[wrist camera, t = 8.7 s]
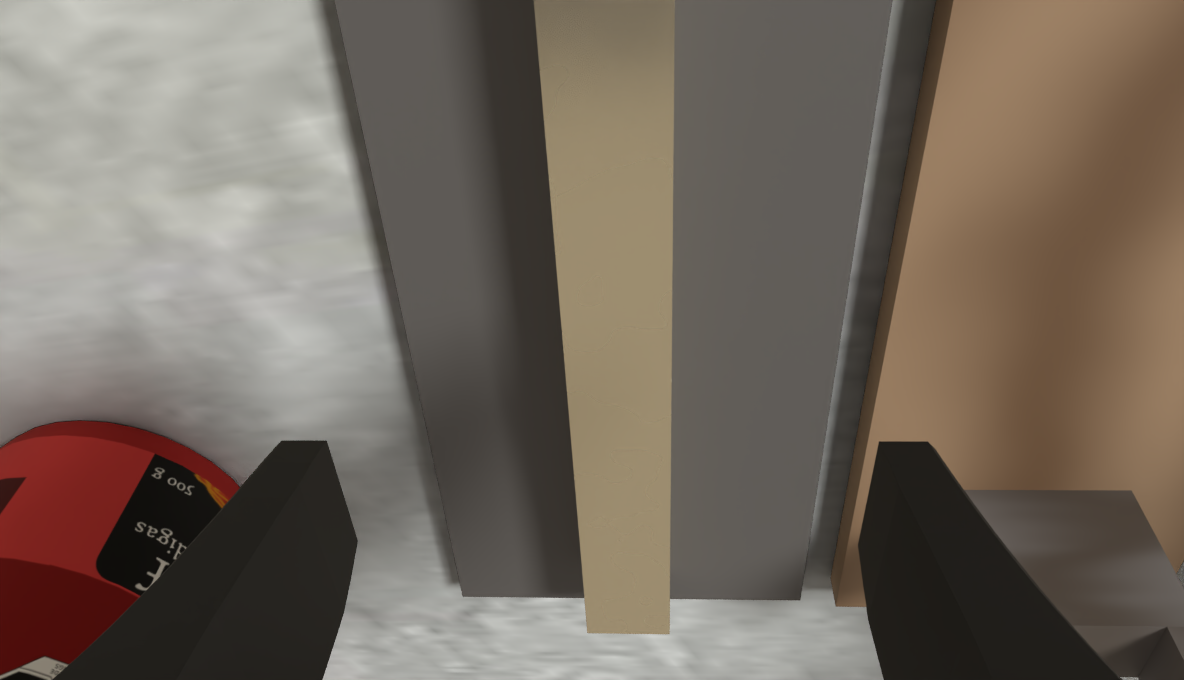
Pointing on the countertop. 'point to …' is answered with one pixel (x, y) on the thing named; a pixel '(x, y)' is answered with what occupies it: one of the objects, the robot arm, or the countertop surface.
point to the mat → (699, 277)
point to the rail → (615, 288)
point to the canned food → (90, 533)
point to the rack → (1046, 308)
